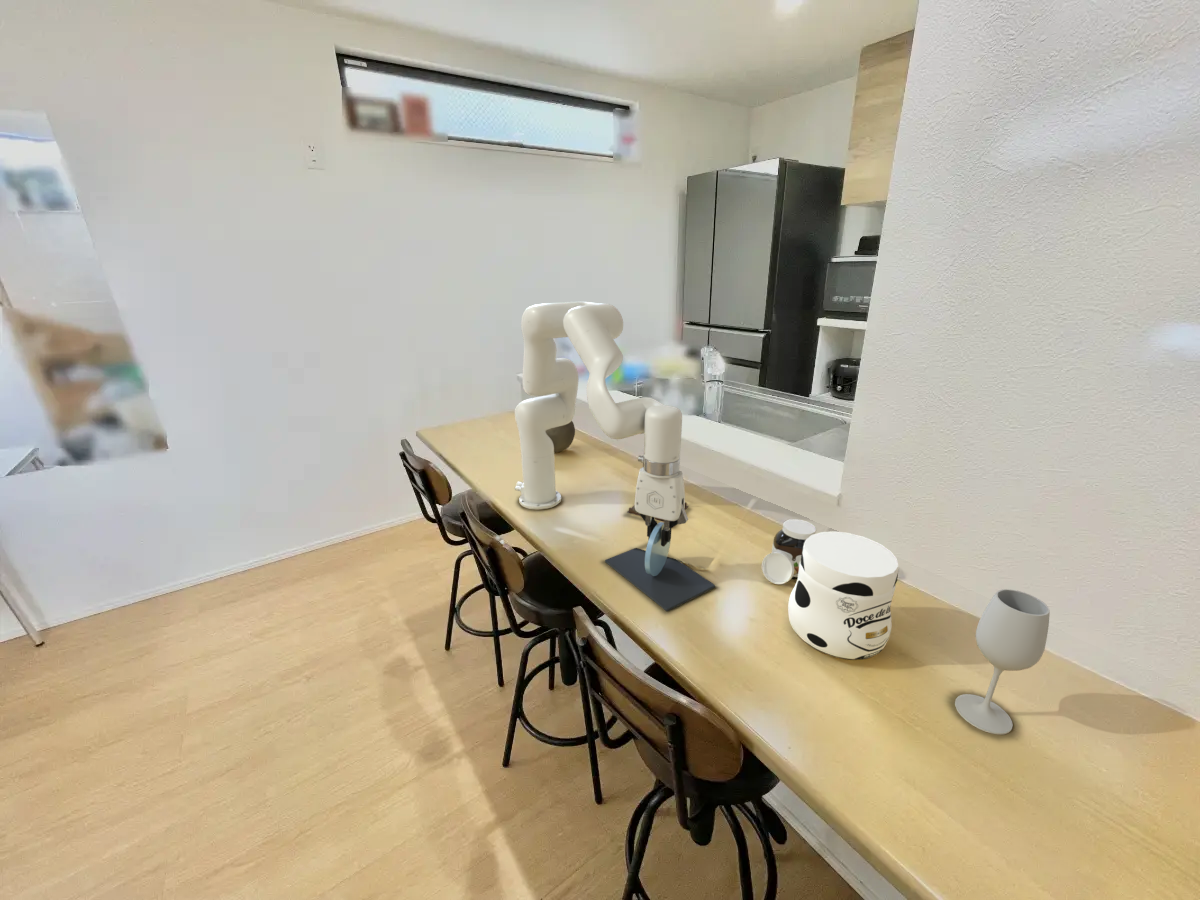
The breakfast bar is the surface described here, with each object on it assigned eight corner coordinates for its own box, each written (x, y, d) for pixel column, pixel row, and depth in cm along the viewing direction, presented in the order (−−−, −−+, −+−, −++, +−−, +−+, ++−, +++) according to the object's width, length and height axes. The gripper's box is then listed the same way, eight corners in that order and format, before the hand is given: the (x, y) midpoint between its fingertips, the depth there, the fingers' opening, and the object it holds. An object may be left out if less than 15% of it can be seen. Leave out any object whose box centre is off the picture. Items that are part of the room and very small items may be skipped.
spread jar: (815, 566, 114) (822, 521, 110) (818, 594, 104) (826, 547, 100) (761, 557, 118) (766, 513, 114) (759, 584, 108) (765, 537, 104)
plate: (644, 585, 107) (645, 536, 103) (665, 558, 117) (667, 513, 113) (649, 586, 107) (650, 538, 103) (669, 559, 117) (671, 514, 112)
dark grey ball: (533, 449, 190) (531, 411, 185) (567, 443, 196) (566, 407, 191) (545, 461, 178) (543, 421, 173) (581, 455, 184) (580, 416, 179)
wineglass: (941, 696, 80) (975, 587, 72) (985, 692, 80) (1023, 584, 73) (979, 737, 73) (1020, 621, 65) (1027, 733, 73) (1073, 618, 66)
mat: (604, 562, 117) (604, 559, 117) (650, 544, 124) (650, 542, 124) (666, 611, 100) (666, 609, 100) (715, 587, 107) (715, 585, 107)
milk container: (882, 684, 82) (904, 594, 76) (775, 645, 91) (787, 561, 84) (888, 624, 96) (908, 543, 89) (795, 595, 104) (807, 520, 98)
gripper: (619, 464, 103) (618, 540, 110) (692, 478, 96) (687, 559, 102) (634, 452, 109) (633, 525, 116) (704, 465, 102) (699, 543, 108)
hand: (658, 541), depth 109 cm, fingers closed
